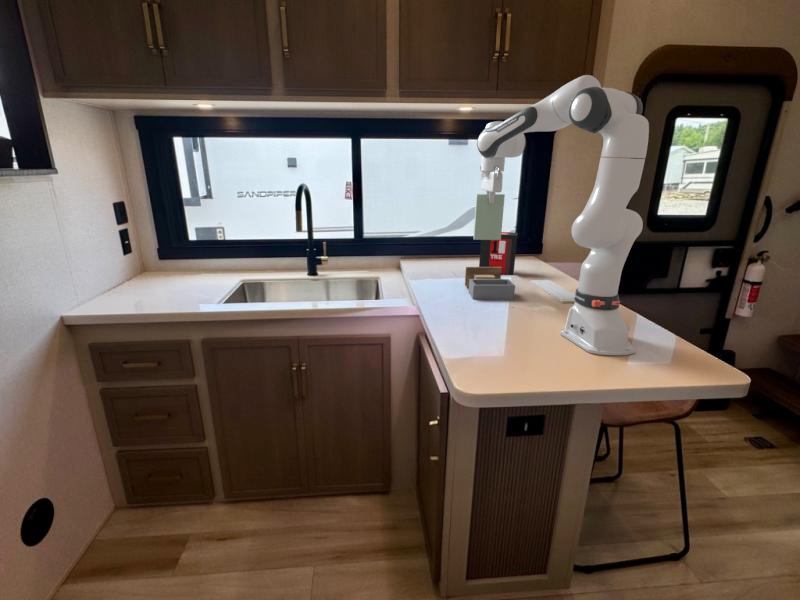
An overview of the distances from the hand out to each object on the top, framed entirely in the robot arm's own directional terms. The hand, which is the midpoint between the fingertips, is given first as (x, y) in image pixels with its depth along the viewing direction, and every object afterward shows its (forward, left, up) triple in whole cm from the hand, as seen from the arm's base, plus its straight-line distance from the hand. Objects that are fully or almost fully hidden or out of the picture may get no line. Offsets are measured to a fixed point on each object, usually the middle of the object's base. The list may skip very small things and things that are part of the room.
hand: (489, 203), depth 165 cm
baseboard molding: (-2, -32, -37) cm, 49 cm away
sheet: (0, 0, -15) cm, 15 cm away
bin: (-13, 0, -36) cm, 38 cm away
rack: (-2, 0, -36) cm, 36 cm away
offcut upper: (-5, +1, -32) cm, 32 cm away
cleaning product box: (+29, -13, -37) cm, 48 cm away
